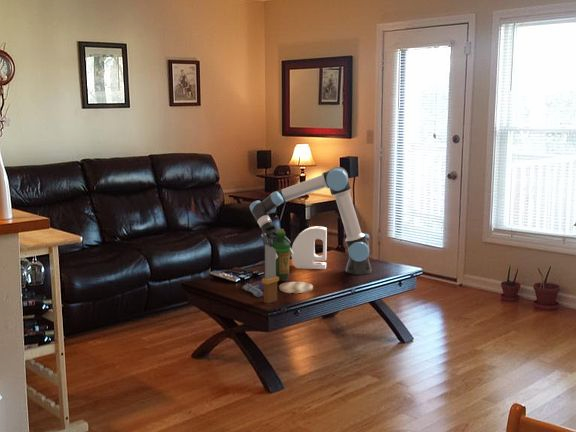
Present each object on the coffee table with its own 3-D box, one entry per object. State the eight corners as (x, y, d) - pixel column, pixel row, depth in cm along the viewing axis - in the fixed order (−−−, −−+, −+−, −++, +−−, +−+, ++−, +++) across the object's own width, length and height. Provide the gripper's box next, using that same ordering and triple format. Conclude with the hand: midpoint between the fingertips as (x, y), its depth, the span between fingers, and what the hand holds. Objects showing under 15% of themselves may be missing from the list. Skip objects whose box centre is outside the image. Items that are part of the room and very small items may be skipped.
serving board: (312, 284, 364) (312, 281, 364) (313, 293, 347) (313, 290, 346) (279, 284, 364) (279, 281, 364) (279, 293, 346) (279, 290, 346)
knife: (267, 304, 329) (267, 245, 324) (261, 302, 331) (261, 244, 326) (278, 300, 335) (278, 242, 330) (273, 298, 337) (273, 241, 332)
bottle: (288, 281, 364) (288, 231, 359) (269, 280, 366) (269, 231, 361) (292, 276, 374) (292, 228, 369) (274, 275, 376) (273, 227, 371)
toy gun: (280, 295, 346) (255, 299, 338) (264, 286, 362) (239, 290, 354) (280, 288, 345) (255, 292, 338) (264, 279, 361) (239, 283, 354)
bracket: (325, 269, 397) (326, 228, 393) (291, 267, 400) (291, 227, 396) (326, 266, 404) (327, 226, 400) (292, 265, 406) (293, 225, 402)
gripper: (279, 226, 384) (296, 257, 375) (247, 231, 369) (265, 263, 360) (284, 218, 379) (303, 249, 370) (253, 223, 364) (271, 255, 355)
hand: (284, 256), depth 365 cm, fingers closed on bottle, 10 cm apart
